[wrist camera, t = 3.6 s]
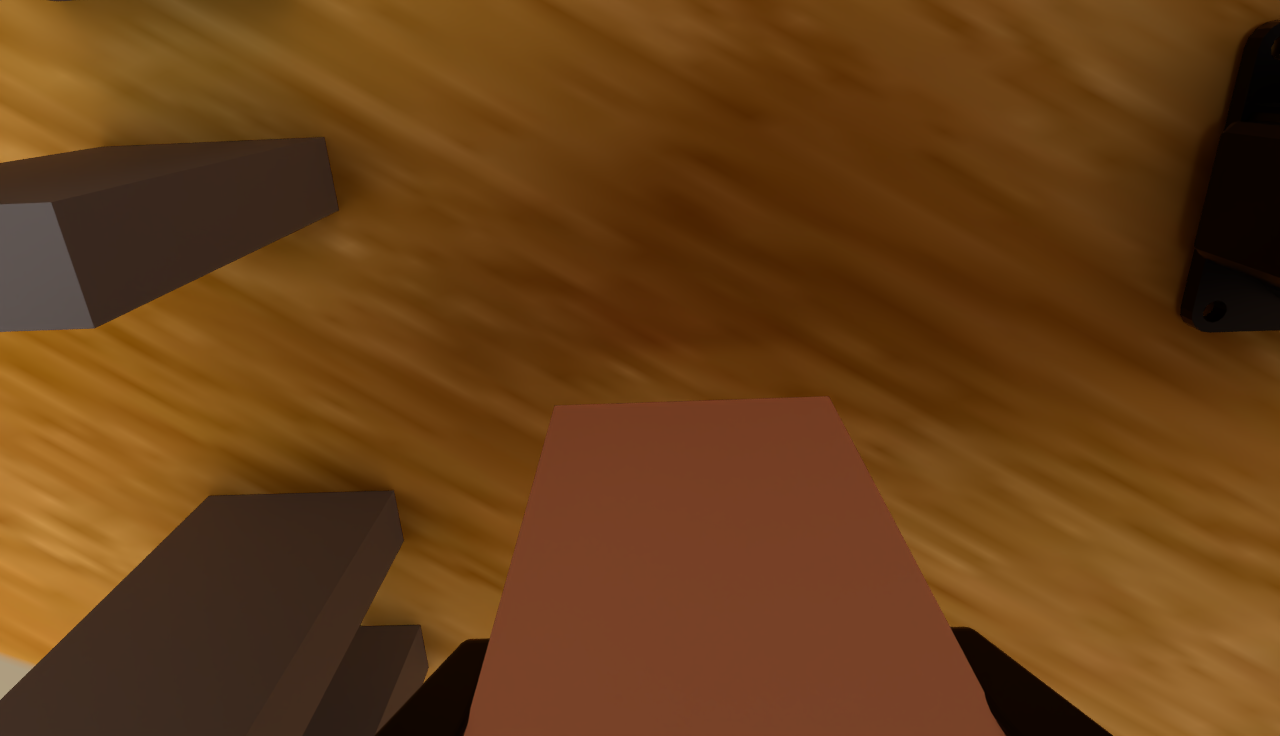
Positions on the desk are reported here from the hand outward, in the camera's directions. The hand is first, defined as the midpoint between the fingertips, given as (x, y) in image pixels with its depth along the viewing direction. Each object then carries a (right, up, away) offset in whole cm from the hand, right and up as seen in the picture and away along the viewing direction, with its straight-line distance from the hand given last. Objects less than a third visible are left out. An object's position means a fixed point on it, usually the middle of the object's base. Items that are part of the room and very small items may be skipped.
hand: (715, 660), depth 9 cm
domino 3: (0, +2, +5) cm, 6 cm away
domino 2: (-10, -1, +11) cm, 15 cm away
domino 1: (-10, +8, +8) cm, 15 cm away
